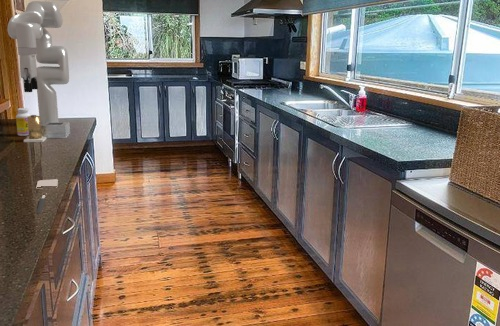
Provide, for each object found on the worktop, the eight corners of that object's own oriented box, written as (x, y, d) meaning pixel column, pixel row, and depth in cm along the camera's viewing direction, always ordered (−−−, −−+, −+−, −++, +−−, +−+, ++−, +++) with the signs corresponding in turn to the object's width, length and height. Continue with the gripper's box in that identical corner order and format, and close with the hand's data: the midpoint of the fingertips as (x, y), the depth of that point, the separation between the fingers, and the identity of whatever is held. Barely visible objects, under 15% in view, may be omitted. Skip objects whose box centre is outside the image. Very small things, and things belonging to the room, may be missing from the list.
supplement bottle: (26, 136, 220) (24, 110, 217) (14, 135, 221) (11, 109, 218) (35, 134, 227) (33, 108, 223) (23, 133, 228) (21, 107, 225)
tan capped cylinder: (30, 137, 214) (28, 114, 212) (43, 136, 215) (41, 114, 213) (27, 139, 209) (25, 116, 207) (40, 139, 210) (38, 116, 208)
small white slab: (58, 183, 150) (58, 179, 150) (51, 214, 123) (50, 208, 123) (38, 184, 148) (37, 180, 148) (26, 216, 121) (25, 211, 121)
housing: (47, 133, 228) (46, 121, 227) (70, 133, 230) (69, 121, 229) (41, 138, 217) (40, 125, 215) (65, 138, 219) (65, 125, 217)
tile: (28, 138, 215) (28, 136, 215) (46, 138, 217) (46, 136, 217) (23, 142, 208) (23, 140, 207) (42, 141, 209) (42, 139, 209)
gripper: (23, 50, 210) (27, 88, 215) (12, 52, 194) (16, 93, 198) (41, 51, 211) (44, 88, 216) (31, 53, 195) (35, 93, 200)
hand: (31, 90), depth 207 cm, fingers open, 9 cm apart
